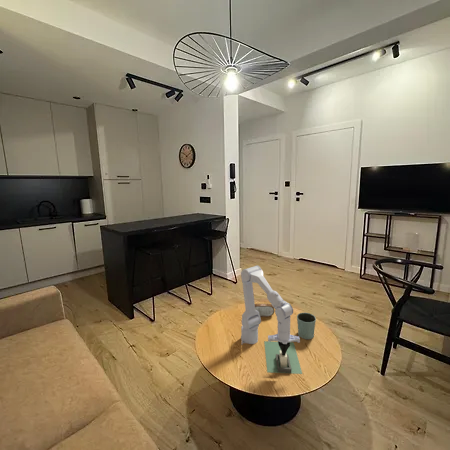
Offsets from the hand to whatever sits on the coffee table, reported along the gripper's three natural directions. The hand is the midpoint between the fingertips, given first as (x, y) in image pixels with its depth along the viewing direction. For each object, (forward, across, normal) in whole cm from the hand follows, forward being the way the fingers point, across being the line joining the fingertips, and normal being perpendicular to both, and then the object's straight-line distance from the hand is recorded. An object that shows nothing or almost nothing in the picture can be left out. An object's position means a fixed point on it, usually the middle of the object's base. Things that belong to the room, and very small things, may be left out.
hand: (283, 354), depth 117 cm
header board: (+7, 0, +6) cm, 9 cm away
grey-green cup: (+7, +16, +24) cm, 30 cm away
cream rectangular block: (+6, 0, 0) cm, 6 cm away
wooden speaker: (+7, -7, +44) cm, 45 cm away
